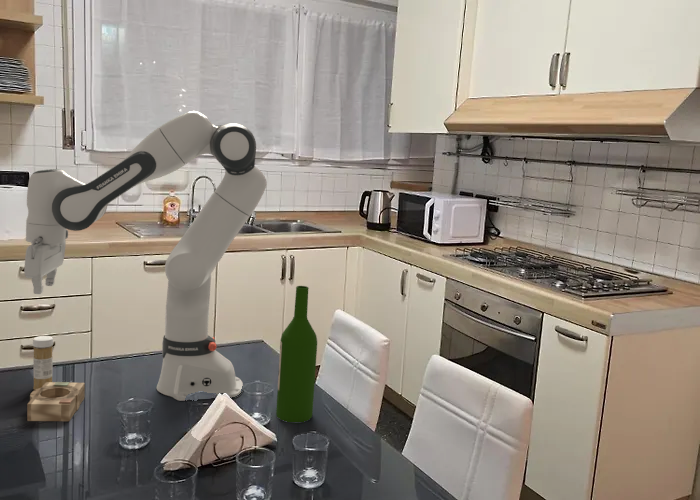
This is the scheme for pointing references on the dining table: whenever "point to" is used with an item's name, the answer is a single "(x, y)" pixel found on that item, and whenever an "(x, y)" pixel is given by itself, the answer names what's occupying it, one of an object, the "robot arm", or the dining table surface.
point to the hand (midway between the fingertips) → (44, 289)
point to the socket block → (55, 401)
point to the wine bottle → (297, 364)
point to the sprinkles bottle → (42, 360)
